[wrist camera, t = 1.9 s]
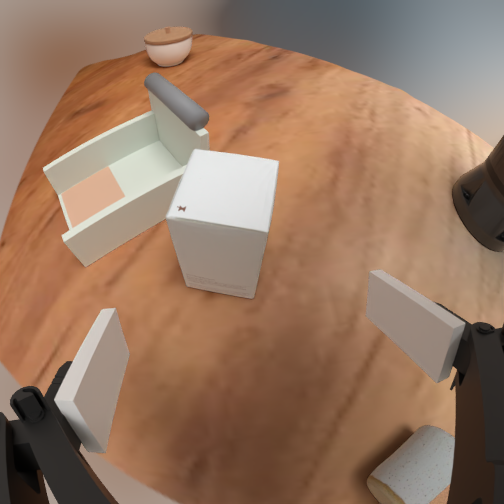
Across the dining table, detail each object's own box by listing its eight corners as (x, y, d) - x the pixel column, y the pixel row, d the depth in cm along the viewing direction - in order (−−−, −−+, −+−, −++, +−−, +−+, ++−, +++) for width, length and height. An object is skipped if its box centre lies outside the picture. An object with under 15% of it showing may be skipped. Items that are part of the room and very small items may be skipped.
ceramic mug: (351, 473, 22) (387, 490, 15) (408, 422, 24) (453, 422, 17) (393, 525, 18) (431, 545, 11) (444, 477, 20) (486, 484, 14)
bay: (167, 136, 42) (157, 68, 31) (216, 191, 37) (214, 111, 26) (58, 194, 35) (24, 132, 25) (85, 267, 30) (34, 204, 20)
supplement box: (254, 301, 30) (269, 236, 19) (184, 287, 30) (160, 216, 19) (265, 240, 34) (281, 159, 23) (201, 229, 34) (192, 145, 23)
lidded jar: (138, 69, 54) (133, 34, 46) (165, 51, 59) (162, 20, 51) (176, 73, 52) (173, 35, 44) (201, 55, 57) (201, 21, 49)
